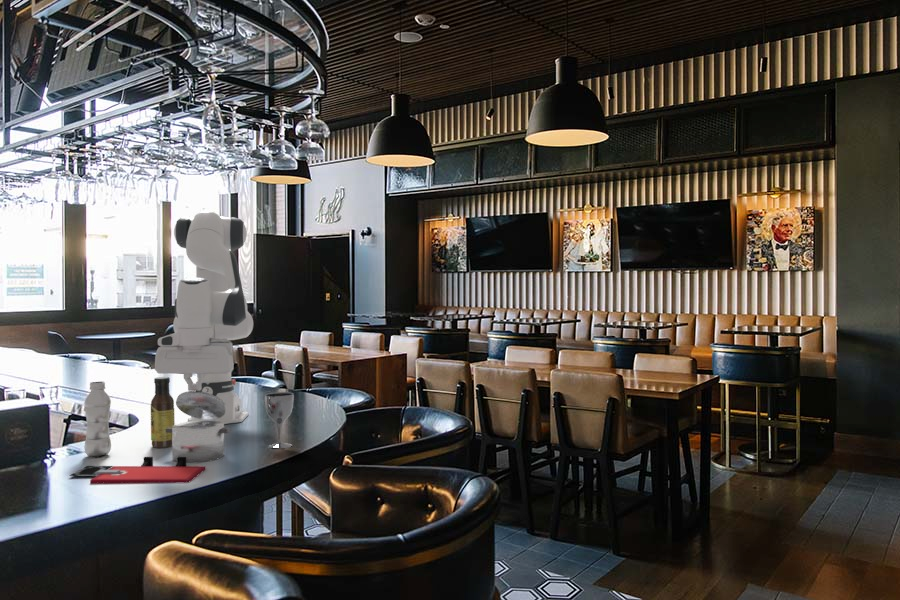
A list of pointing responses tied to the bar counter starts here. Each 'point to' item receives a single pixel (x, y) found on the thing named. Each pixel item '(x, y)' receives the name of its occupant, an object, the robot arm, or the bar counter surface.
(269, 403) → the wine glass
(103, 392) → the plastic bottle
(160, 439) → the sauce bottle
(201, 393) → the lid
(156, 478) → the red board with handle
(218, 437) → the pot
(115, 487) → the bar counter surface
